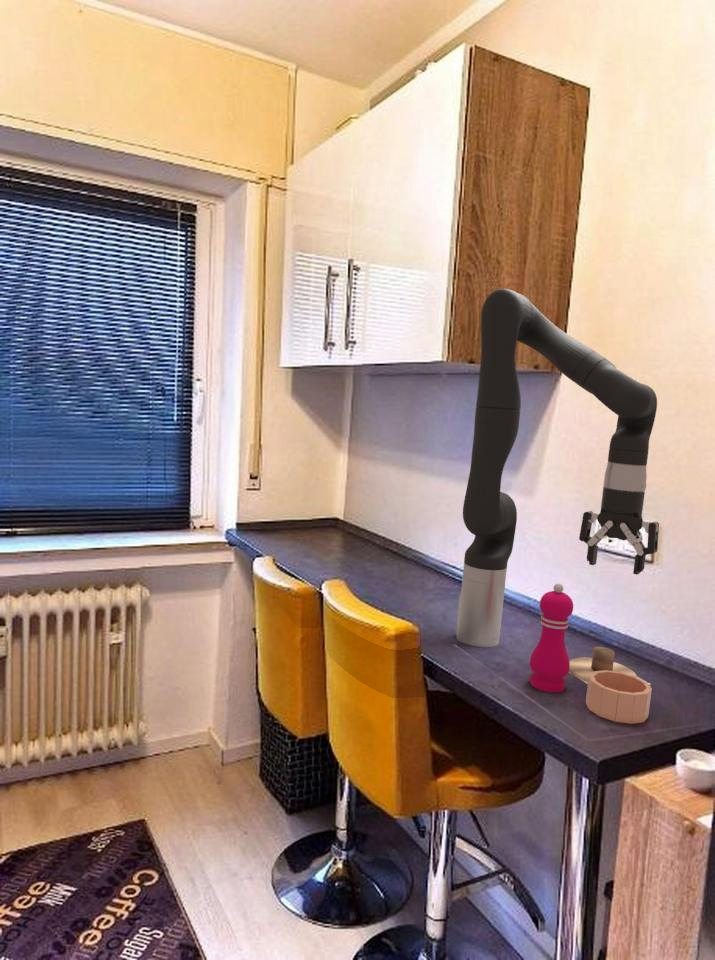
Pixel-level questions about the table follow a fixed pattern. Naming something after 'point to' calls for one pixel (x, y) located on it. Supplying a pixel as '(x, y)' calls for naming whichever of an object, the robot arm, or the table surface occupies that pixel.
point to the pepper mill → (552, 642)
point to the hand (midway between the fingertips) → (614, 569)
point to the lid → (596, 664)
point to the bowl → (618, 696)
